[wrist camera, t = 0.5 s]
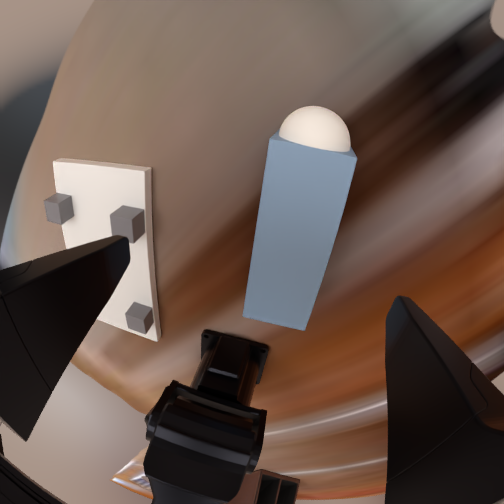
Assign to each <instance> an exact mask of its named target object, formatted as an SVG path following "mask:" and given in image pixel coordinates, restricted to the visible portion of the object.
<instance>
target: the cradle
mask: <svg viewBox="0 0 504 504" xmlns="http://www.w3.org/2000/svg"><path fill="white" fill-rule="evenodd" d="M53 168H54V177H55V185H56V194H54V195H53V196H51V197H49V198H47V199H46V200H44V204H45V210H46V216H47V221H49V222H53V223H56V224H60V225H62V229H63V234H64V239H65V244H66V249H69V248H73V247H76V246H79V245H83V244H86V243H89V242H93V241H96V240H100V239H103V238H107V237H110V236H114V235H122V236H126V237H127V238H128V239H129V246H130V256H131V259H130V264H129V266H128V267H127V269H126V271H125V273H124V275H123V276H122V278H121V280H120V282H119V284H118V285H117V287H116V289H115V291H114V293H113V294H112V296H111V298H110V299H109V301H108V303H107V304H106V305H105V307H104V308H103V310H102V311H101V313H100V314H99V316H98V317H97V319H98V320H100V321H103V322H105V323H108V324H110V325H113V326H115V327H118V328H121V329H123V330H126V331H129V332H131V333H134V334H137V335H140V336H142V337H145V338H148V339H151V340H154V341H157V342H158V340H159V339H160V337H161V328H160V319H159V310H158V301H157V290H156V278H155V265H154V249H153V229H152V191H151V167H144V166H136V165H128V164H119V163H110V162H100V161H90V160H79V159H67V158H59V159H57V160H55V161H53Z"/></svg>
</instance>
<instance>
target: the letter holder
mask: <svg viewBox="0 0 504 504" xmlns="http://www.w3.org/2000/svg"><path fill="white" fill-rule="evenodd" d="M299 483H300V480H299V479H295V478H292V477H288V476H284V475H280V474H277V473H273V472H270V471H266V470H263V469H261V470H257V471H254V472H252V474H245V477H244V479H243V482H242V485H241V488H240V490H239V492H238V494H237V495H236V496H235V497H234V498H233V499H232V500H231V501H230V502H228V503H227V504H295V501H296V496H297V492H298V487H299ZM224 504H226V503H224Z"/></svg>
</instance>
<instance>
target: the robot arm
mask: <svg viewBox="0 0 504 504" xmlns="http://www.w3.org/2000/svg"><path fill="white" fill-rule="evenodd" d="M130 259H131V256H130V246H129V239H128V238H127V237H126V236H122V235H114V236H110V237H107V238H103V239H100V240H96V241H93V242H89V243H86V244H83V245H79V246H76V247H73V248H69V249H66V250H63V251H59V252H56V253H53V254H50V255H47V256H44V257H40V258H37V259H34V260H33V261H32V260H31V261H28V262H25V263H22V264H19V265H16V266H12V267H9V268H6V269H2V270H0V426H1V424H2V423H3V424H5V425H6V426H7V427H8V428H9V429H10V430H12V431H13V432H14V433H16V434H17V435H18V436H19V437H20V438H22V439H23V440H24V441H25V442H26V441H27V440H28V438H29V436H30V434H31V432H32V430H33V428H34V426H35V424H36V422H37V420H38V418H39V416H40V414H41V412H42V411H43V408H44V407H45V405H46V403H47V401H48V399H49V397H50V395H51V394H52V391H53V390H54V388H55V386H56V385H57V383H58V381H59V379H60V378H61V376H62V374H63V372H64V370H65V369H66V367H67V365H68V364H69V362H70V360H71V359H72V357H73V355H74V354H75V352H76V351H77V349H78V347H79V346H80V344H81V342H82V341H83V339H84V338H85V336H86V335H87V333H88V331H89V330H90V328H91V327H92V325H93V324H94V322H95V321H96V319H97V317H98V316H99V314H100V313H101V311H102V310H103V308H104V307H105V305H106V304H107V303H108V301H109V299H110V298H111V296H112V294H113V293H114V291H115V289H116V287H117V285H118V284H119V282H120V280H121V278H122V276H123V275H124V273H125V271H126V269H127V267H128V266H129V264H130ZM268 351H269V347H268V346H267V345H264V344H259V343H255V342H251V341H247V340H243V339H239V338H235V337H231V336H227V335H224V334H220V333H216V332H212V331H209V330H204V331H203V333H202V335H201V362H200V365H199V367H198V369H197V372H196V374H195V376H194V379H193V381H192V383H191V386H190V387H189V386H186V385H183V384H181V383H179V382H178V381H175V380H173V381H172V382H171V384H170V386H167V387H165V389H164V391H163V394H162V396H161V397H160V399H159V401H158V402H157V403H156V405H155V406H154V407H153V408H152V409H151V410H150V412H149V413H148V414H147V415H146V417H145V422H146V425H147V432H146V439H147V440H148V441H150V444H149V447H148V450H147V452H146V455H145V458H144V462H143V465H144V471H145V476H146V477H148V478H149V482H150V486H151V489H152V493H153V501H152V503H151V504H224V503H226V504H227V503H228V502H230V501H231V500H232V499H233V498H234V497H235V496H236V495H237V494H238V492H239V490H240V488H241V485H242V482H243V479H244V477H245V474H252V472H253V471H254V469H255V467H256V465H257V462H258V460H259V457H260V453H261V450H262V445H263V438H264V431H265V423H266V415H267V410H263V409H261V410H260V409H256V408H252V407H250V403H251V399H252V395H253V392H254V388H255V384H259V383H260V379H261V376H262V372H263V369H264V365H265V362H266V358H267V355H268ZM385 367H386V383H387V405H388V461H387V483H386V494H385V504H504V395H503V394H502V393H501V392H500V391H499V390H498V389H497V388H496V387H495V386H494V384H493V383H492V382H491V381H490V380H489V379H488V378H487V377H486V376H485V375H484V374H483V373H482V372H481V371H480V370H479V369H478V367H477V366H476V365H475V364H474V363H472V361H471V360H470V359H469V358H468V357H467V355H466V354H465V353H464V352H463V351H462V350H461V349H460V348H459V347H458V346H457V345H456V344H455V343H454V342H453V341H452V340H451V339H450V338H449V337H448V336H447V334H446V333H445V332H444V331H443V330H442V329H441V328H440V327H439V326H438V325H437V324H436V323H435V322H434V321H433V320H432V319H431V318H430V317H429V316H428V315H427V314H426V313H425V312H424V311H423V310H422V309H421V308H419V307H418V306H417V305H416V304H415V303H414V302H413V301H412V300H411V299H410V298H409V297H405V296H397V297H396V298H395V300H394V302H393V304H392V306H391V308H390V310H389V312H388V315H387V318H386V347H385ZM0 504H67V503H65V502H64V501H62V500H61V499H59V498H58V497H56V496H55V495H53V494H52V493H50V492H49V491H47V490H46V489H44V488H43V487H42V486H40V485H39V484H37V483H36V482H35V481H34V480H32V479H31V478H30V477H28V476H27V475H26V474H25V473H23V472H22V471H21V470H20V469H18V468H17V467H16V466H15V465H14V464H12V463H11V462H10V461H9V460H8V459H7V458H5V457H4V452H3V446H2V439H1V434H0Z"/></svg>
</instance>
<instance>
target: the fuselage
mask: <svg viewBox="0 0 504 504" xmlns="http://www.w3.org/2000/svg"><path fill="white" fill-rule="evenodd" d="M356 161H357V157H356V155H355V153H354V151H353V149H352V148H351V146H350V135H349V131H348V129H347V126H346V125H345V123H344V122H343V120H342V119H341V118H340V117H339V116H338V115H337V114H336V113H334V112H333V111H331V110H329V109H326V108H323V107H319V106H306V107H302V108H300V109H297V110H295V111H294V112H292V113H291V114H290V115H289V116H288V117H287V118H286V119H285V120H284V122H283V123H282V125H281V128H280V129H279V130H278V131H277V132H276V133H275V134H274V135H273V136H272V137H271V138H270V140H269V147H268V153H267V160H266V166H265V173H264V179H263V186H262V193H261V199H260V206H259V212H258V219H257V225H256V232H255V238H254V245H253V251H252V258H251V264H250V271H249V277H248V284H247V290H246V297H245V303H244V310H243V317H246V318H250V319H255V320H259V321H263V322H267V323H271V324H276V325H280V326H285V327H289V328H294V329H298V330H303V331H305V328H306V326H307V323H308V320H309V317H310V314H311V312H312V309H313V306H314V303H315V300H316V297H317V294H318V291H319V288H320V285H321V282H322V279H323V276H324V273H325V270H326V267H327V264H328V261H329V257H330V254H331V251H332V248H333V244H334V241H335V238H336V235H337V231H338V228H339V224H340V221H341V217H342V214H343V210H344V207H345V203H346V199H347V196H348V192H349V188H350V184H351V181H352V177H353V173H354V169H355V165H356Z"/></svg>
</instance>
